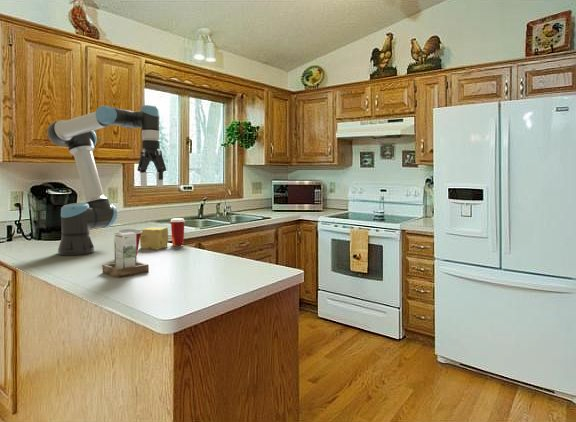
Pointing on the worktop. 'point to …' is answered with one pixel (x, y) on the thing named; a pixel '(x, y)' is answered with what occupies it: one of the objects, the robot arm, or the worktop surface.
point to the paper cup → (177, 231)
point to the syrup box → (125, 249)
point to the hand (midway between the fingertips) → (151, 186)
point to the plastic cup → (138, 234)
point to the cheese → (154, 238)
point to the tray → (125, 270)
